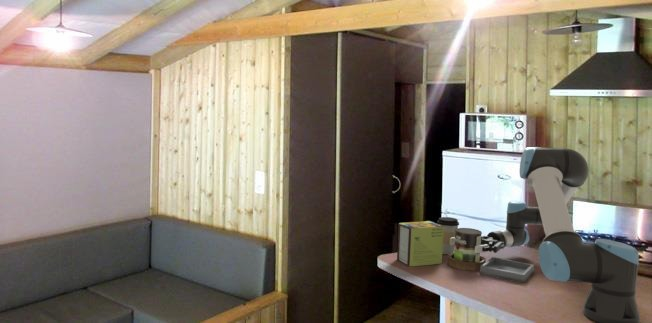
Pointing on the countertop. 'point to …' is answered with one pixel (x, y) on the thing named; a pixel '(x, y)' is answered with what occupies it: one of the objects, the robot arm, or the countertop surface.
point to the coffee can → (467, 244)
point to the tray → (507, 269)
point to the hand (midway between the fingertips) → (462, 245)
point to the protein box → (420, 243)
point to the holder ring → (465, 263)
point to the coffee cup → (448, 233)
